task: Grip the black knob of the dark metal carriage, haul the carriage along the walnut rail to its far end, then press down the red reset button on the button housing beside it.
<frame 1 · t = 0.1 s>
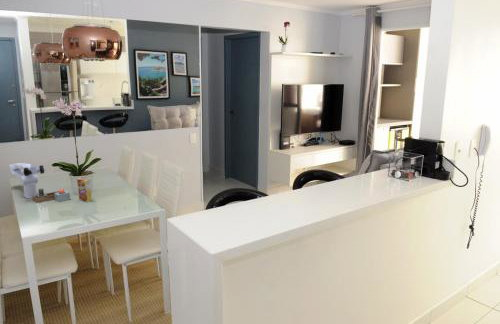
hand: (37, 171, 259), 22 cm above the table, tool horizontal, fingers open, 7 cm apart
button housing: (62, 199, 271), on the table
rail: (49, 198, 273), on the table
reset button: (61, 192, 270), point 5 cm above the table, slide at 0.0 cm
candy box: (85, 200, 271), on the table
carriage: (41, 193, 268), point 5 cm above the table, slide at 0.0 cm
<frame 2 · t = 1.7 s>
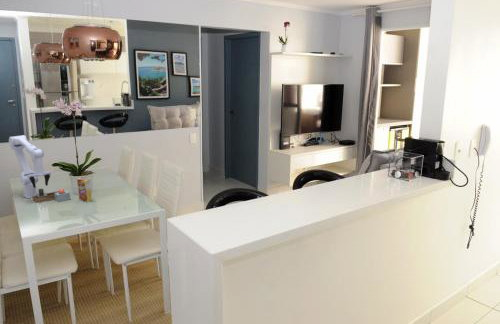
hand: (40, 186, 267), 10 cm above the table, tool pointing down, fingers open, 7 cm apart
nothing on the table moved.
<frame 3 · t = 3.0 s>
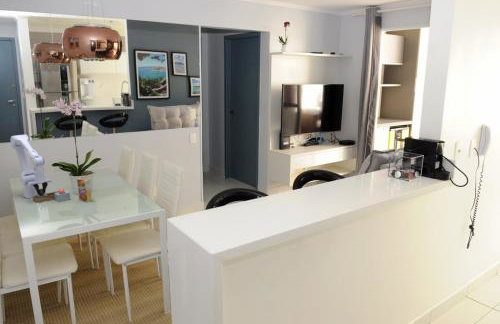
hand: (41, 193, 268), 5 cm above the table, tool pointing down, fingers closed on carriage, 3 cm apart
carriage: (41, 193, 268), point 5 cm above the table, slide at 0.0 cm, touching gripper
everything else where it was.
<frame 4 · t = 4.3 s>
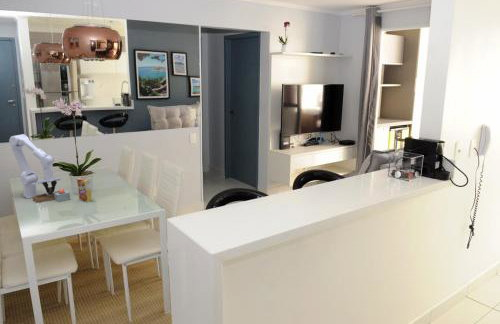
hand: (50, 192, 272), 5 cm above the table, tool pointing down, fingers closed on carriage, 3 cm apart
carriage: (50, 192, 273), point 5 cm above the table, slide at 5.9 cm, touching gripper
everything else where it was.
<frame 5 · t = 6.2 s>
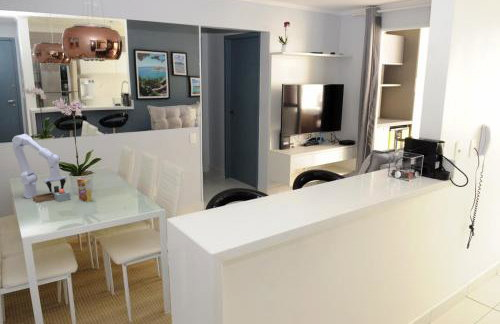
hand: (56, 190, 275), 5 cm above the table, tool pointing down, fingers open, 7 cm apart
carriage: (56, 190, 275), point 5 cm above the table, slide at 10.0 cm
everything else where it was.
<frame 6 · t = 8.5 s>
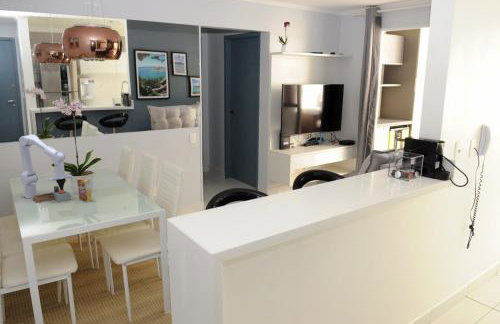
hand: (61, 189, 269), 7 cm above the table, tool pointing down, fingers closed, pressing on reset button
reset button: (61, 192, 270), point 5 cm above the table, slide at 0.1 cm, touching gripper
everything else where it was.
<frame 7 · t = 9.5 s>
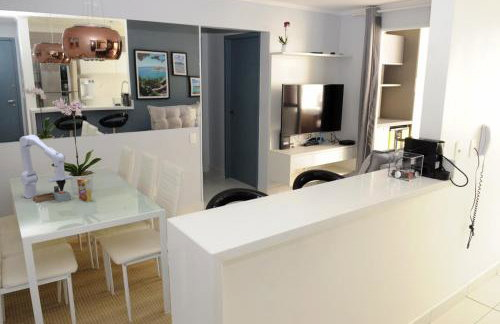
hand: (61, 190, 269), 7 cm above the table, tool pointing down, fingers closed
reset button: (62, 194, 270), point 4 cm above the table, slide at 1.6 cm
everything else where it was.
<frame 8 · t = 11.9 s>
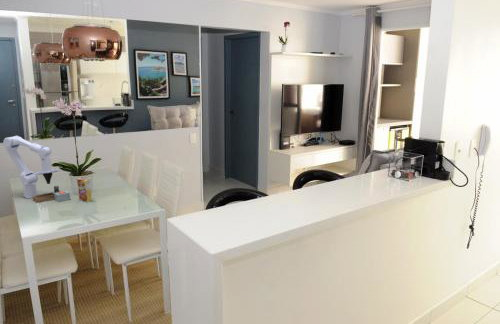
hand: (48, 183, 272), 10 cm above the table, tool pointing down, fingers closed
nothing on the table moved.
at the end: carriage slide at 10.0 cm; reset button slide at 1.6 cm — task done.
